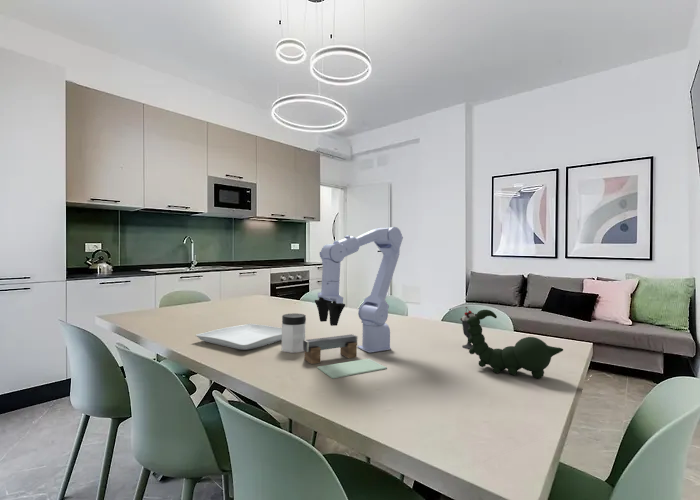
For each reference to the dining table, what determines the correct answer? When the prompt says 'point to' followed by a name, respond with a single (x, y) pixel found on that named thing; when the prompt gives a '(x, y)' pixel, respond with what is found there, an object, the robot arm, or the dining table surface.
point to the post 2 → (349, 350)
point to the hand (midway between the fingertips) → (328, 323)
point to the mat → (351, 368)
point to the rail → (329, 342)
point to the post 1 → (313, 355)
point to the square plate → (243, 336)
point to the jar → (293, 332)
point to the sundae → (466, 326)
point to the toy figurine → (510, 350)
